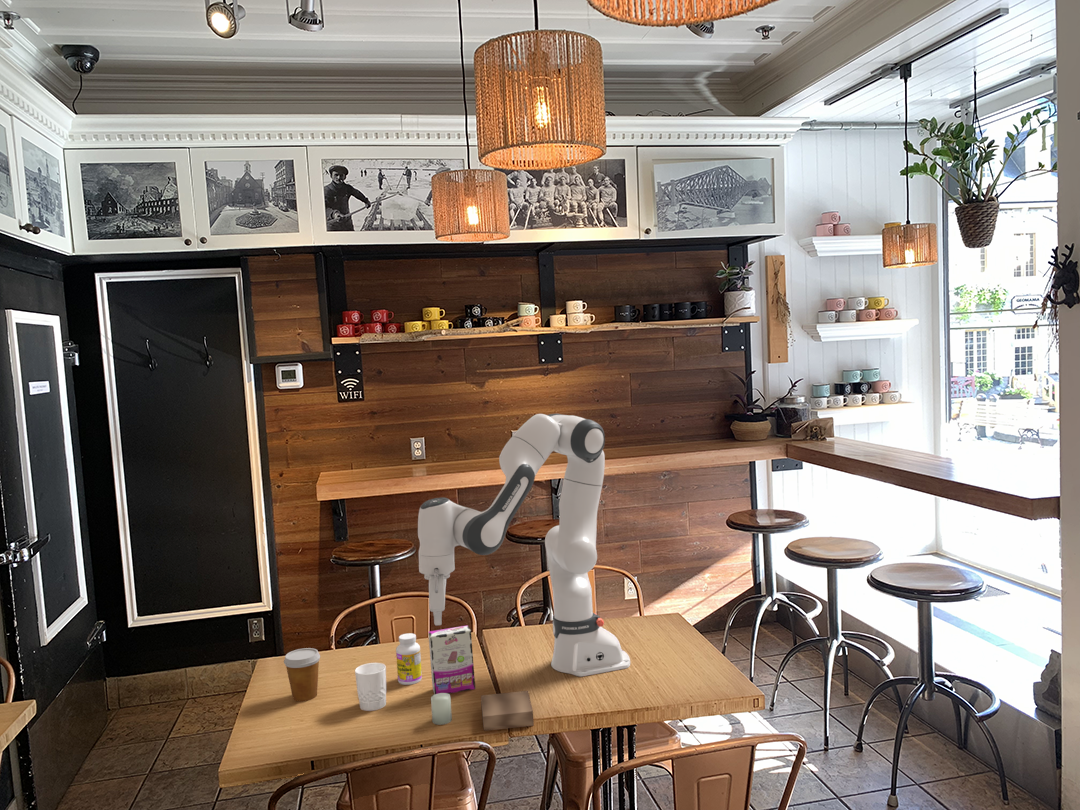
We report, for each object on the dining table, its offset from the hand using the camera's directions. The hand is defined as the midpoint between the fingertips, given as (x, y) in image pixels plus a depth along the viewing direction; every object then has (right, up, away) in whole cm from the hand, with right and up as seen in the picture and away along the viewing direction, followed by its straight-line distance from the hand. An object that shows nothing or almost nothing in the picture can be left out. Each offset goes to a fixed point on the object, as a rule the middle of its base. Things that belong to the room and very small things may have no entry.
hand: (438, 618), depth 204 cm
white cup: (-18, -25, +9) cm, 32 cm away
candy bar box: (+2, -24, +16) cm, 29 cm away
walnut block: (+17, -24, -2) cm, 30 cm away
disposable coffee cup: (-38, -26, +16) cm, 49 cm away
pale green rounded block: (+1, -25, -2) cm, 25 cm away
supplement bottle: (-11, -24, +24) cm, 35 cm away
